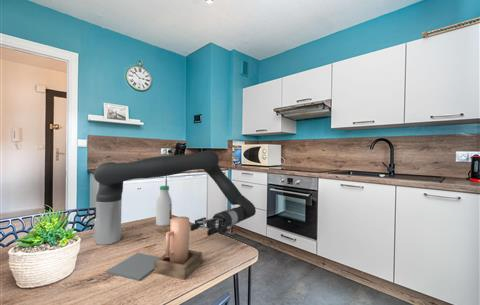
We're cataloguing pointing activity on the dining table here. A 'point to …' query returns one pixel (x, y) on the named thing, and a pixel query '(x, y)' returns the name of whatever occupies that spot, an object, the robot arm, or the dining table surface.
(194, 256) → the walnut collar
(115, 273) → the charcoal mat
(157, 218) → the milk bottle
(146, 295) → the dining table surface
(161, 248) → the dining table surface
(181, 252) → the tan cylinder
